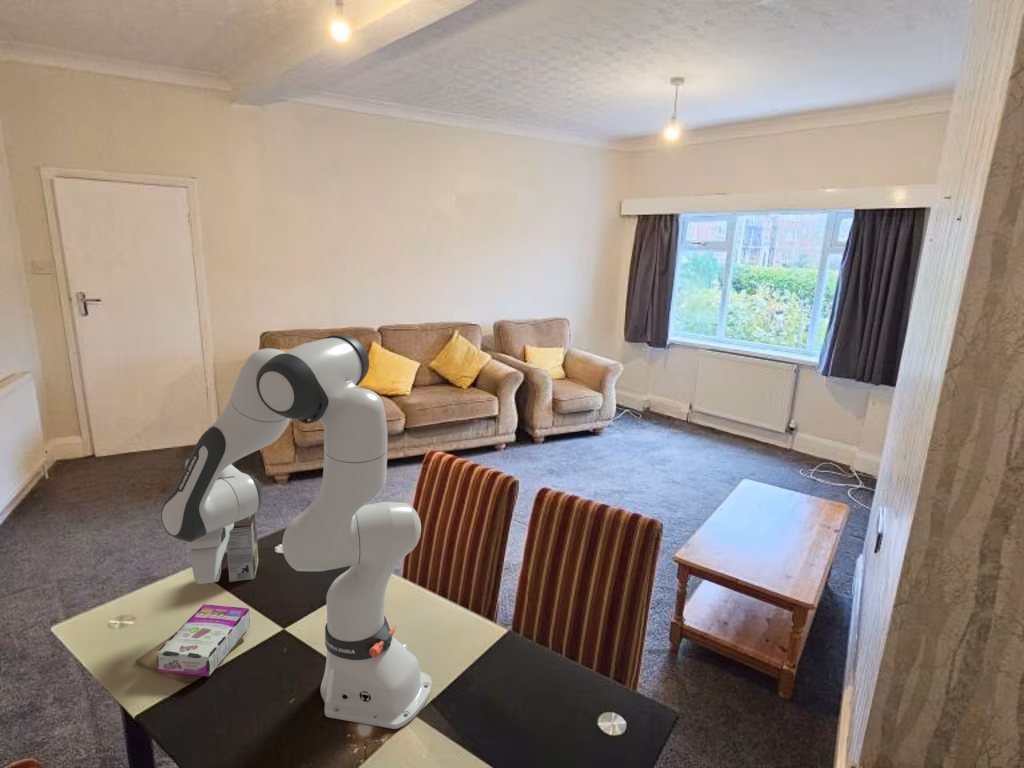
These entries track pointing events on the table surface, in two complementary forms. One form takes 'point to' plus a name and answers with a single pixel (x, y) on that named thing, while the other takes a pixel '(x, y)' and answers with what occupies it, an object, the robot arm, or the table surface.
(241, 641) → the board
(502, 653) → the table surface
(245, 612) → the candy bar box
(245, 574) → the coffee box
